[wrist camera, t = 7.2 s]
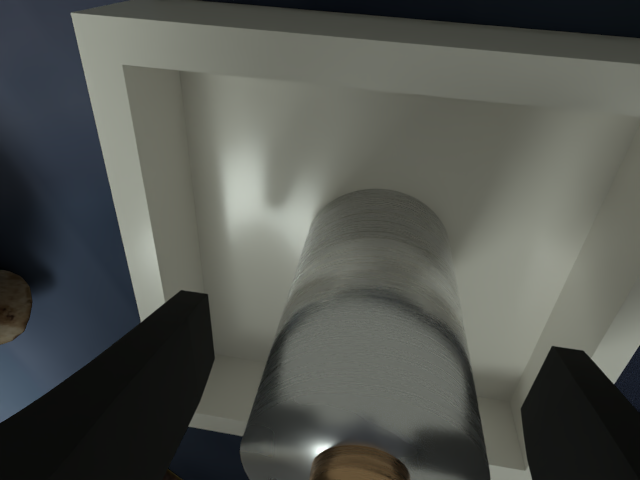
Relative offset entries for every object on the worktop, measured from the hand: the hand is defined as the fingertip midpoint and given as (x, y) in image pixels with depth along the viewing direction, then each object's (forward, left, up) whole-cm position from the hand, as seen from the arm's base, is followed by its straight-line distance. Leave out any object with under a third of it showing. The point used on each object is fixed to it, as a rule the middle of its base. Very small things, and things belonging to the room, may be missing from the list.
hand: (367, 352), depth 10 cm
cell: (0, 0, -4) cm, 4 cm away
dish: (0, 0, -4) cm, 4 cm away
